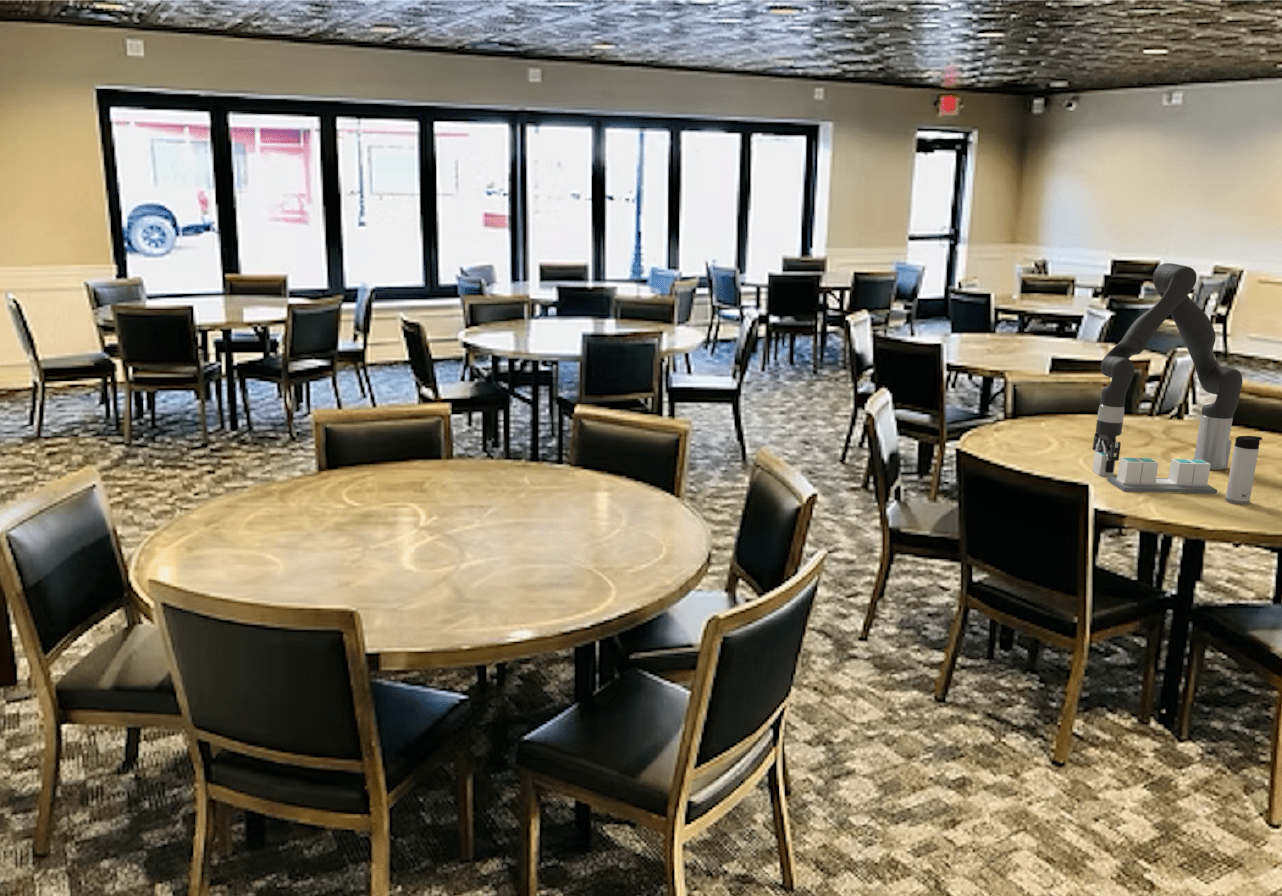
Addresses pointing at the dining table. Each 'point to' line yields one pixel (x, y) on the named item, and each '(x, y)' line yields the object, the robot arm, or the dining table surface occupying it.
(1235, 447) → the travel mug
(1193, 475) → the rail panel
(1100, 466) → the block
